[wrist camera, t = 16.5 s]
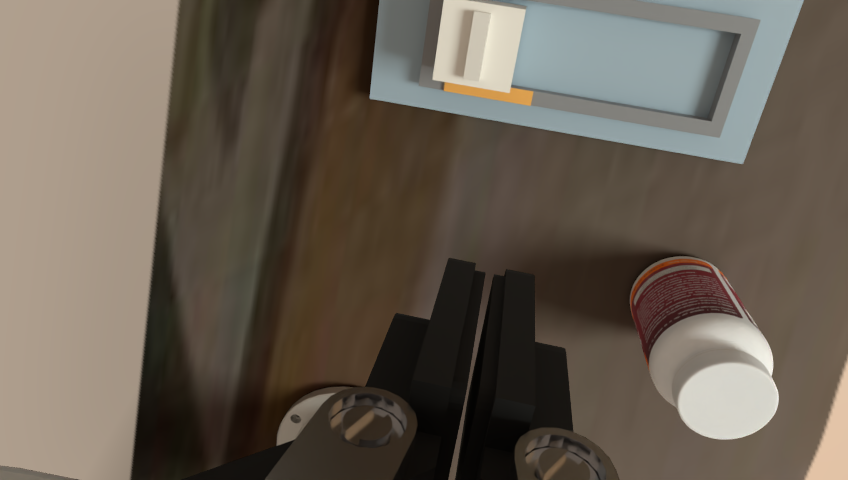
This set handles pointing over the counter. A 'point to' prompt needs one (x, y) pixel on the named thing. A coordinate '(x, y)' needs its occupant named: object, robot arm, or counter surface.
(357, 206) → the counter surface
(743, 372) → the pill bottle
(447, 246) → the counter surface
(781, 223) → the counter surface
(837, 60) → the counter surface
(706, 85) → the switch bank
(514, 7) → the white block with handle
